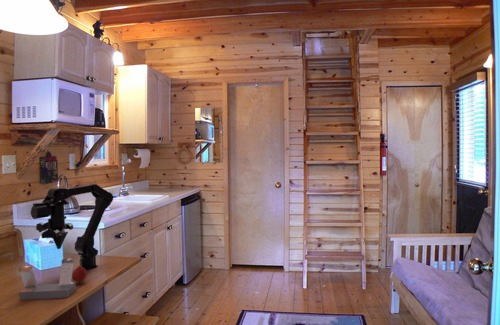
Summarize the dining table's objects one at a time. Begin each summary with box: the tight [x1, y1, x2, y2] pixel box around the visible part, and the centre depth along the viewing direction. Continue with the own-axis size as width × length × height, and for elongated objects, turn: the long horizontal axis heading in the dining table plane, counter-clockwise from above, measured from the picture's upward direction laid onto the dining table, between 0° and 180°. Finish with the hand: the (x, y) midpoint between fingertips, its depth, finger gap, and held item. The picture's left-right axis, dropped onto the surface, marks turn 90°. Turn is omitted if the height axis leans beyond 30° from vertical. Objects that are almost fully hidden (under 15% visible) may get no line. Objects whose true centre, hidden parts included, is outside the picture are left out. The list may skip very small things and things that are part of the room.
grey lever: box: [58, 258, 75, 285], centre depth 142 cm, size 2×4×10 cm, turn 94°
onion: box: [72, 264, 88, 284], centre depth 152 cm, size 6×6×8 cm
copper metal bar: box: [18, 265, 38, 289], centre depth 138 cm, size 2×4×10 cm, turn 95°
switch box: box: [18, 281, 77, 301], centre depth 140 cm, size 8×18×3 cm, turn 95°
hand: (58, 248), depth 161 cm, fingers closed
